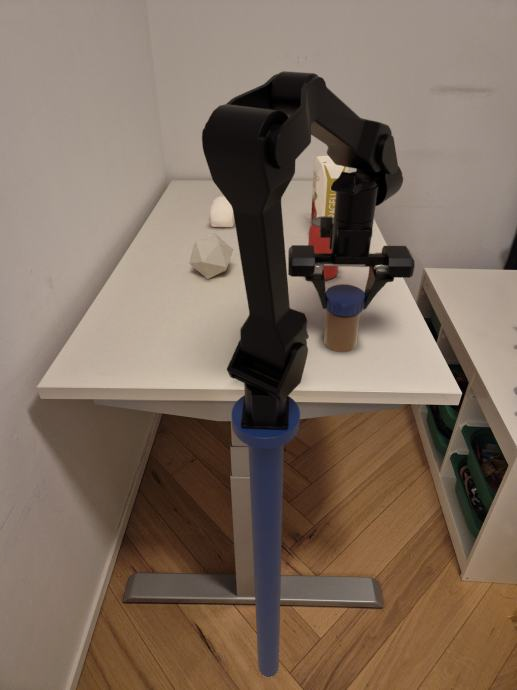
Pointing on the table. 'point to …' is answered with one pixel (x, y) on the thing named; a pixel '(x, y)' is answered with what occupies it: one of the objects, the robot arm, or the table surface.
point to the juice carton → (324, 186)
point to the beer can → (321, 246)
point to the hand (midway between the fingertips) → (343, 307)
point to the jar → (341, 332)
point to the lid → (345, 300)
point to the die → (210, 255)
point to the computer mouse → (221, 213)
